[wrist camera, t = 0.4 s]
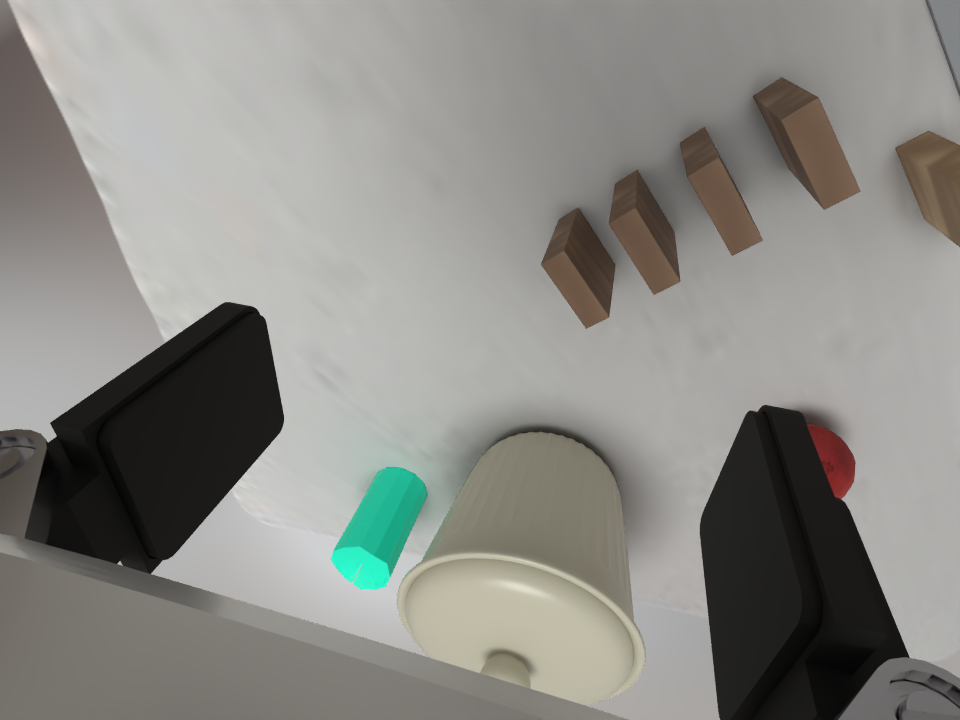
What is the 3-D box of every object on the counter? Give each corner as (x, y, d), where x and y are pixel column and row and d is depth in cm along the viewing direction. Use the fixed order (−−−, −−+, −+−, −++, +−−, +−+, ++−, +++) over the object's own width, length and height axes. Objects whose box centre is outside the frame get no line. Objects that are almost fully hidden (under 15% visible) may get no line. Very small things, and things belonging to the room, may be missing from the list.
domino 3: (704, 126, 33) (718, 157, 26) (741, 195, 34) (762, 240, 28) (679, 142, 33) (687, 176, 27) (716, 209, 35) (732, 255, 29)
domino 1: (578, 207, 37) (563, 250, 31) (615, 264, 39) (609, 317, 32) (558, 219, 38) (540, 264, 32) (596, 275, 40) (586, 328, 33)
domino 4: (781, 77, 30) (818, 97, 24) (817, 153, 32) (860, 191, 25) (753, 95, 31) (780, 119, 25) (788, 169, 33) (824, 209, 26)
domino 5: (928, 130, 30) (1004, 166, 24) (957, 205, 32) (1036, 257, 25) (895, 148, 31) (960, 186, 24) (924, 219, 32) (993, 273, 26)
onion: (738, 435, 44) (754, 509, 37) (794, 390, 40) (822, 463, 34) (796, 470, 44) (822, 549, 38) (856, 428, 41) (895, 508, 34)
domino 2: (637, 169, 35) (635, 207, 28) (674, 232, 36) (680, 281, 30) (615, 183, 36) (608, 223, 29) (652, 244, 37) (653, 294, 31)
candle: (426, 512, 60) (384, 610, 50) (376, 498, 61) (325, 592, 51) (428, 474, 56) (382, 572, 47) (374, 461, 57) (319, 554, 47)
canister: (522, 553, 59) (472, 774, 42) (423, 437, 53) (319, 640, 36) (680, 514, 50) (697, 776, 33) (582, 370, 44) (542, 599, 27)
